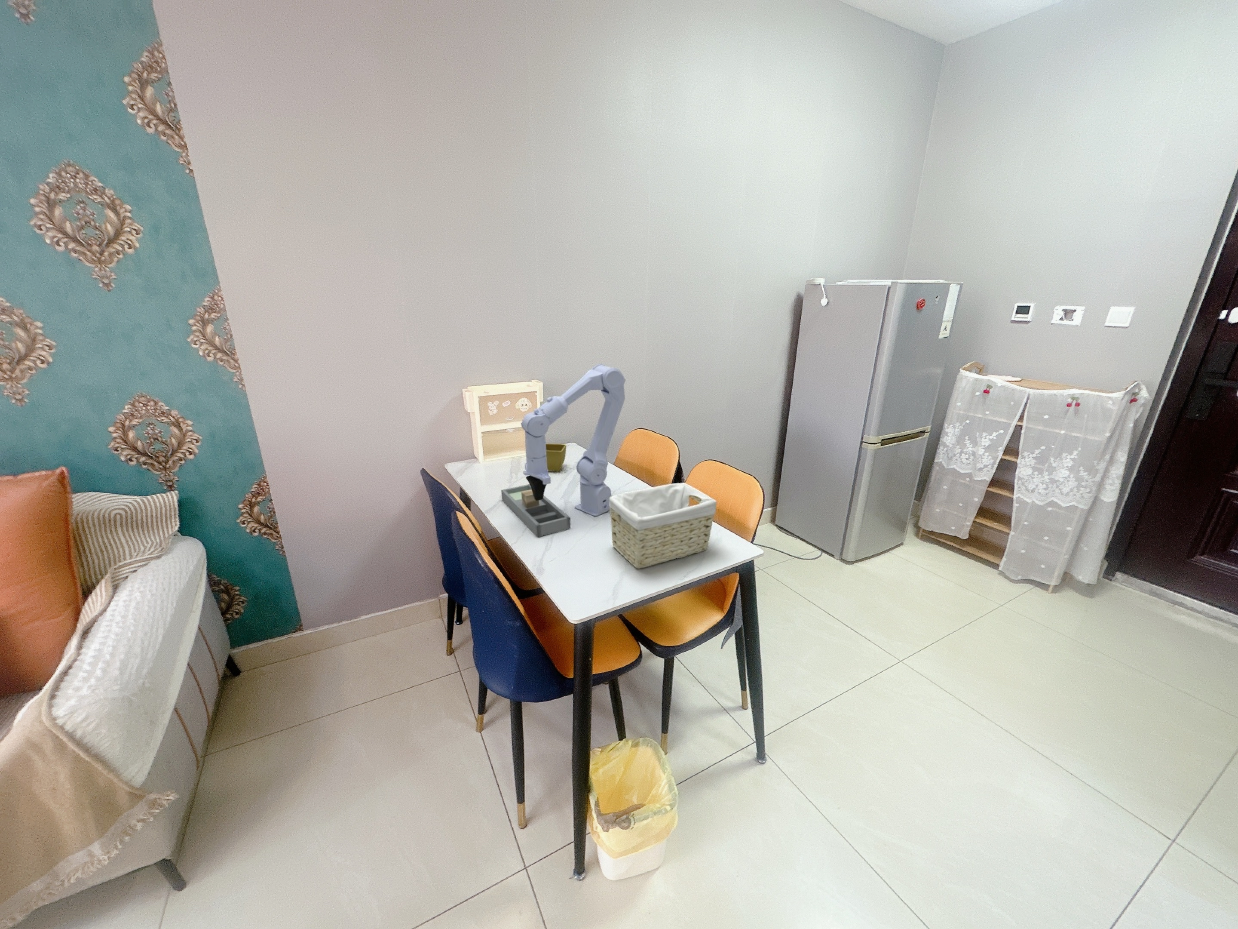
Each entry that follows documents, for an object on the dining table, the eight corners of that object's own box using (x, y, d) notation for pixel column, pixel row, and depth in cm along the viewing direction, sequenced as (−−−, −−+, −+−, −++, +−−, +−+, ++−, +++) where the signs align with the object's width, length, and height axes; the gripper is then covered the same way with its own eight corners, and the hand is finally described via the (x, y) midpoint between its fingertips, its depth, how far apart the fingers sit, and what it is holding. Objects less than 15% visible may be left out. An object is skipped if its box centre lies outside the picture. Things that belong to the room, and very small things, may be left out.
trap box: (570, 528, 138) (570, 517, 137) (537, 537, 133) (537, 526, 132) (531, 493, 162) (530, 483, 161) (502, 499, 157) (501, 490, 156)
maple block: (539, 505, 149) (538, 493, 147) (526, 508, 147) (526, 496, 145) (534, 500, 152) (533, 489, 150) (522, 503, 150) (521, 491, 149)
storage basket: (680, 527, 140) (682, 479, 135) (716, 552, 126) (720, 500, 121) (606, 546, 129) (605, 495, 124) (636, 575, 116) (637, 520, 111)
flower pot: (567, 466, 188) (566, 444, 185) (562, 474, 180) (561, 451, 177) (545, 465, 189) (544, 443, 186) (539, 473, 181) (538, 450, 178)
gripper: (513, 450, 141) (516, 493, 146) (532, 465, 130) (535, 511, 134) (536, 447, 145) (538, 489, 149) (556, 460, 133) (558, 505, 138)
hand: (538, 499), depth 142 cm, fingers closed
